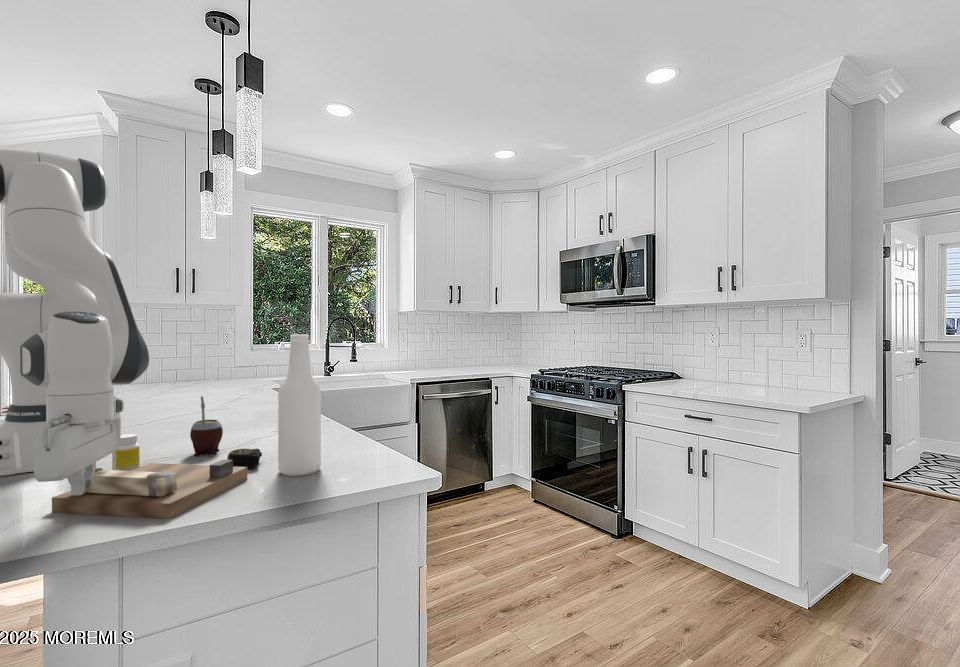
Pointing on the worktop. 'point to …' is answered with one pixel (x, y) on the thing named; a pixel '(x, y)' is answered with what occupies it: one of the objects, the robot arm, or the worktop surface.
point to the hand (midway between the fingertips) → (81, 492)
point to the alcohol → (299, 414)
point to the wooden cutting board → (190, 492)
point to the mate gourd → (206, 435)
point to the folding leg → (133, 482)
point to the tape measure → (245, 457)
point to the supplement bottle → (126, 453)
